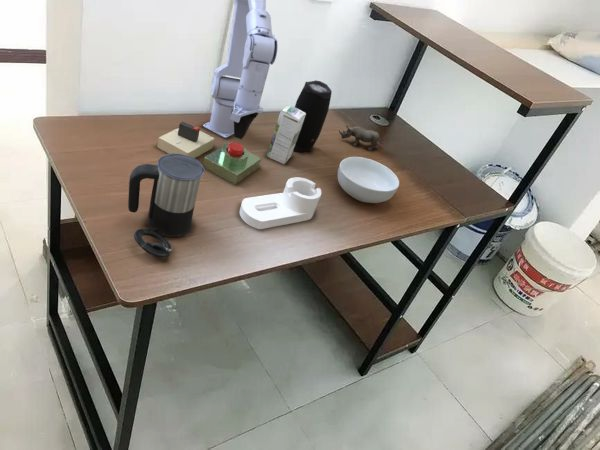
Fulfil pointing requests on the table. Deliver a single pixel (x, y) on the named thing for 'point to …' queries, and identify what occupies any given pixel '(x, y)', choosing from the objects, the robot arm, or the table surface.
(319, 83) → the portable speaker
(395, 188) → the cereal bowl
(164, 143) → the dial panel
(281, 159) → the syrup box
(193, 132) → the block
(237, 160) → the push button base
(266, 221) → the bracket
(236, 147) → the button
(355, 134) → the rhino figurine
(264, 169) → the table surface
